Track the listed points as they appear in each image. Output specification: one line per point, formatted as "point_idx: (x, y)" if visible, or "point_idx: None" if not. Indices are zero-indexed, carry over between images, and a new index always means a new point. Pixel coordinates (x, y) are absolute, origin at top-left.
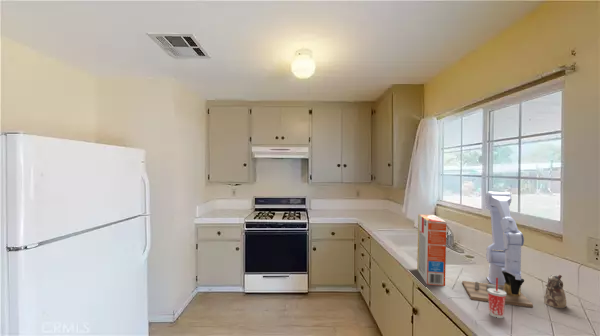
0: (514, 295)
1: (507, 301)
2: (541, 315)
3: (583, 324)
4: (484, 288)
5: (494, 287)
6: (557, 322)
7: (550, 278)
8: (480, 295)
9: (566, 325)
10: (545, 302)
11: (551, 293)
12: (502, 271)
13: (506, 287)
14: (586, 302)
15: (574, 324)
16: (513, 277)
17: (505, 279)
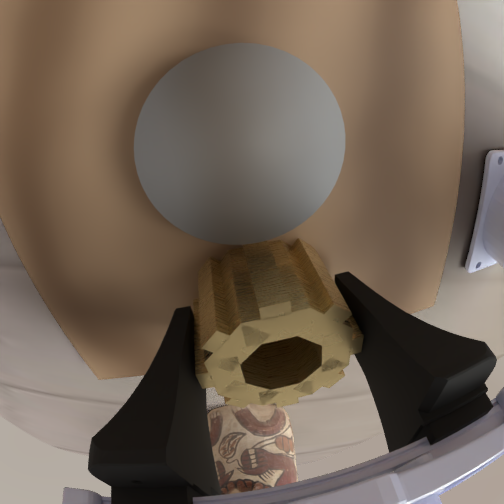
0: (196, 310)
1: (19, 251)
2: (23, 372)
3: (73, 443)
4: (292, 33)
5: (211, 150)
6: (9, 397)
7: None
8: (2, 21)
9: (12, 410)
10: (229, 409)
11: (218, 475)
12: (481, 365)
13: (233, 295)
14: (323, 455)
15: (46, 428)
16: (160, 489)
17: (386, 325)
